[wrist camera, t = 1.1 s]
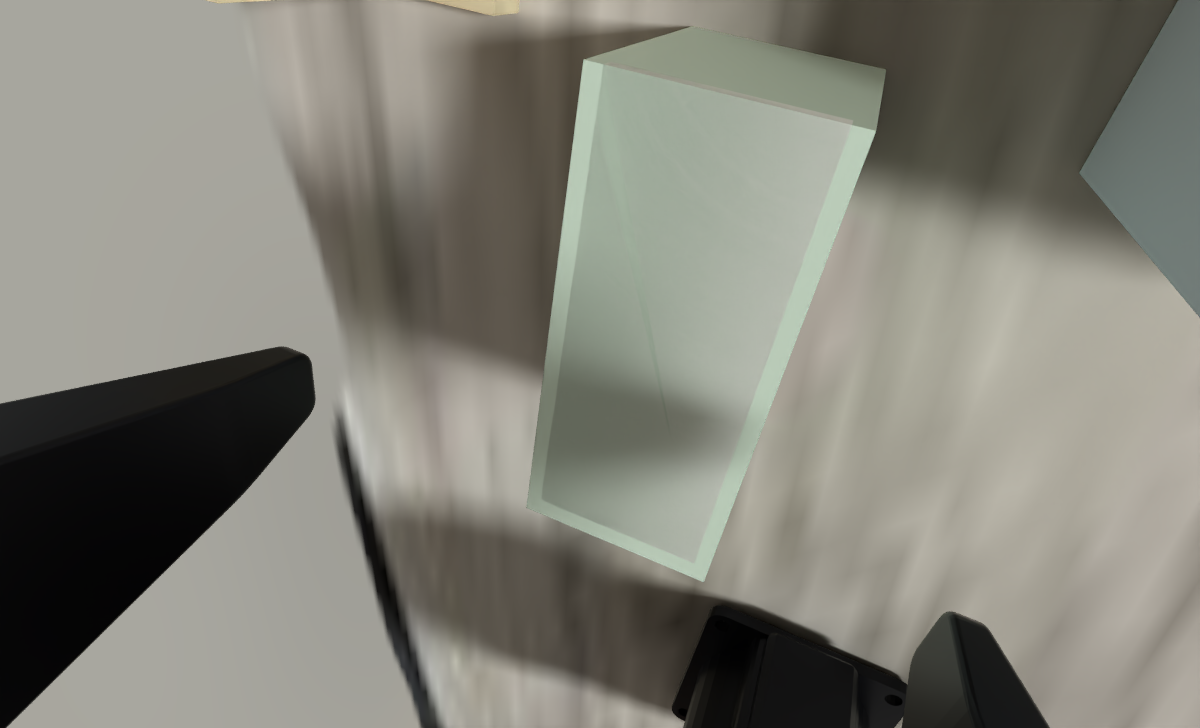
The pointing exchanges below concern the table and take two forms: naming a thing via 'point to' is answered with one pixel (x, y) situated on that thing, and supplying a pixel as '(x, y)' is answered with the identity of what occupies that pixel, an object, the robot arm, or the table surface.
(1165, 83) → the book row
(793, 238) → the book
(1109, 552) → the table surface
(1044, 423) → the table surface
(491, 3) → the bookend
